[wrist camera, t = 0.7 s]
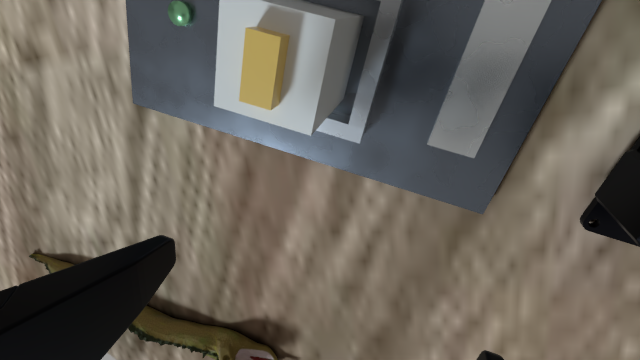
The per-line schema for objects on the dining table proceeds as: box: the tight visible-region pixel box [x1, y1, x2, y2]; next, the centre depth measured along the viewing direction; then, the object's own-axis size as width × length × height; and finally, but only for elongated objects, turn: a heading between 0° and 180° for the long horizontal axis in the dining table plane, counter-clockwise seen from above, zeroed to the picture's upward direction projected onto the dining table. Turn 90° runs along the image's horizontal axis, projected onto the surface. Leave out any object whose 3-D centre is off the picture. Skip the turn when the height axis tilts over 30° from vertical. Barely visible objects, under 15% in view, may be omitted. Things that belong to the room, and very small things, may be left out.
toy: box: [29, 254, 278, 360], centre depth 31 cm, size 4×28×5 cm, turn 77°
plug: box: [214, 0, 364, 136], centre depth 14 cm, size 4×4×7 cm
